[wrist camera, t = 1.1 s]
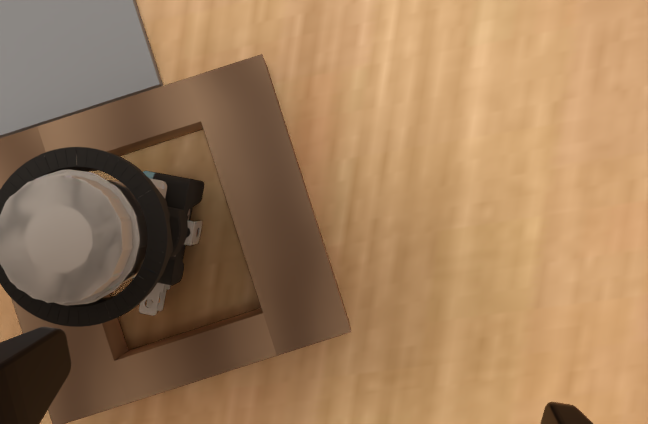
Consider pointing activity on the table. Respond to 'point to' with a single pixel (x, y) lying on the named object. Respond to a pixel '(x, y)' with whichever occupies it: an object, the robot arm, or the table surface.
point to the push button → (93, 235)
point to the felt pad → (69, 59)
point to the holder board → (250, 222)
